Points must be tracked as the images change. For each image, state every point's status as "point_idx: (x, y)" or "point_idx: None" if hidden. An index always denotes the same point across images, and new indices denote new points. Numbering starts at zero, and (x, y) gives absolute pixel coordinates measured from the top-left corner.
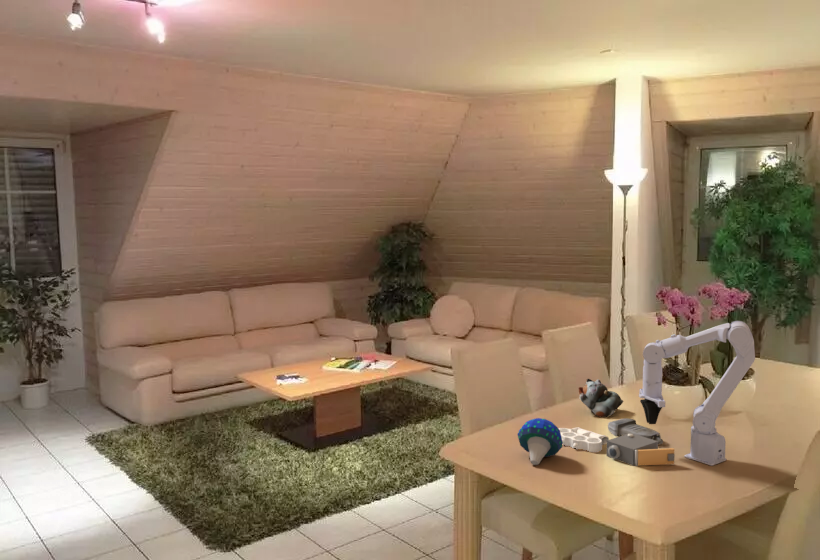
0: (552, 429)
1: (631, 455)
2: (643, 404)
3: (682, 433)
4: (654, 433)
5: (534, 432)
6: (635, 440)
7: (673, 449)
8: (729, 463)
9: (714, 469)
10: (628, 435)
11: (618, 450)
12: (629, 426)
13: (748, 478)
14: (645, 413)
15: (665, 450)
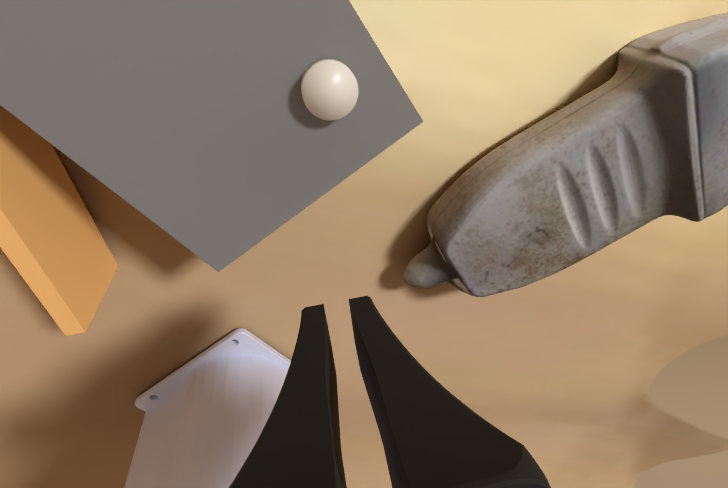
0: None
1: None
2: (406, 459)
3: (541, 361)
4: (474, 274)
5: None
6: (211, 104)
7: (63, 329)
8: None
9: (96, 400)
10: (315, 65)
11: None
12: (639, 161)
13: (25, 472)
14: (386, 355)
15: (33, 280)
